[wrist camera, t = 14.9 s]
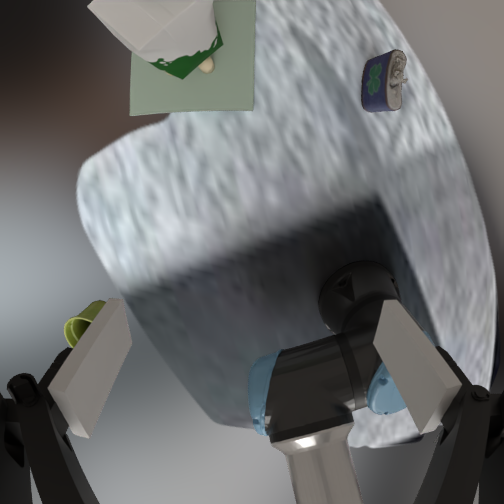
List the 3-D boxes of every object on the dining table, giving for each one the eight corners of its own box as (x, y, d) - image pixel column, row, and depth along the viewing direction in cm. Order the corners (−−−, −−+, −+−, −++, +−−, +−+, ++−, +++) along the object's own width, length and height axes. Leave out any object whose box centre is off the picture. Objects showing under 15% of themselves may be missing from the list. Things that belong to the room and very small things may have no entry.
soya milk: (233, 44, 32) (227, -26, 14) (181, 90, 34) (127, 56, 16) (189, 6, 30) (152, -72, 11) (139, 50, 32) (64, 2, 13)
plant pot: (86, 283, 51) (66, 308, 43) (130, 305, 53) (115, 333, 45) (79, 319, 54) (62, 345, 46) (119, 339, 56) (106, 367, 48)
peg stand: (255, 4, 34) (257, -11, 29) (252, 110, 41) (254, 108, 36) (138, 12, 33) (127, 0, 28) (133, 115, 40) (119, 114, 35)
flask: (374, 114, 41) (408, 112, 31) (357, 109, 41) (388, 106, 31) (380, 61, 38) (413, 48, 28) (364, 56, 38) (394, 41, 28)
